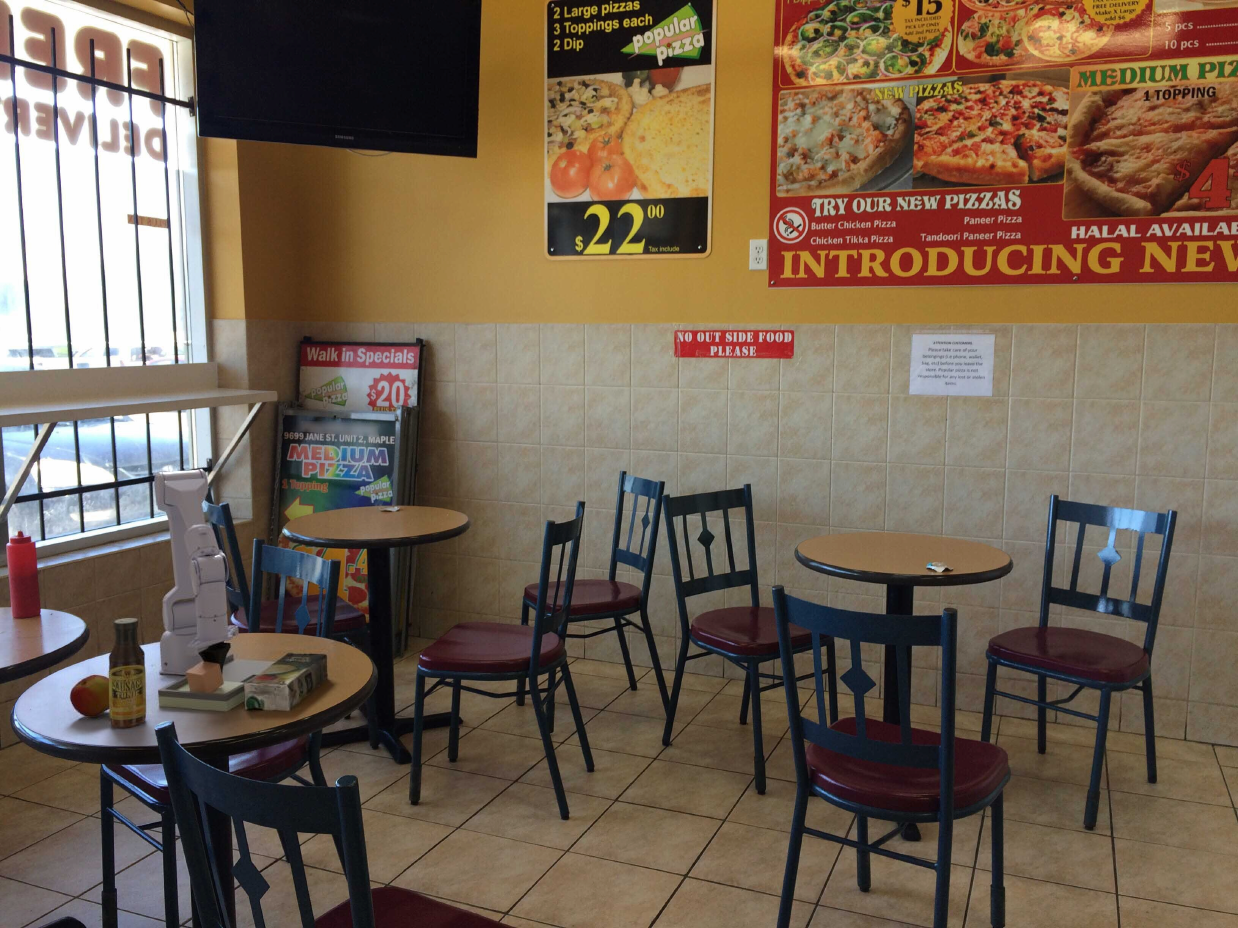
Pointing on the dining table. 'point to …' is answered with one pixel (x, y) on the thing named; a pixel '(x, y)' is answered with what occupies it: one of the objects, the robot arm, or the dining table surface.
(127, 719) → the sauce bottle
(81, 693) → the apple
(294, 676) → the juice carton
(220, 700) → the trap tray
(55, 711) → the dining table surface
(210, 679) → the block
